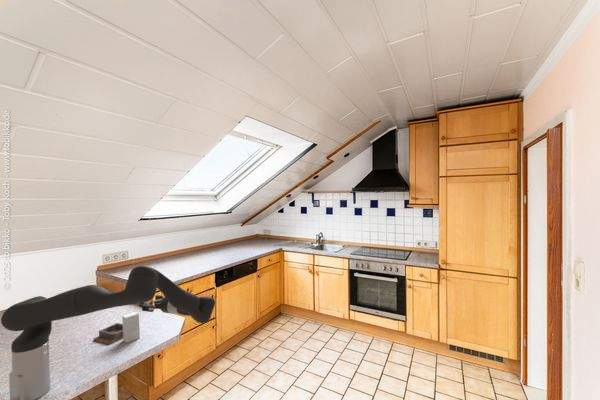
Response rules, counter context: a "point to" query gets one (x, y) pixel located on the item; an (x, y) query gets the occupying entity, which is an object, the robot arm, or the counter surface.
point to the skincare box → (131, 327)
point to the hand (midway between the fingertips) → (148, 300)
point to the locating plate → (110, 334)
